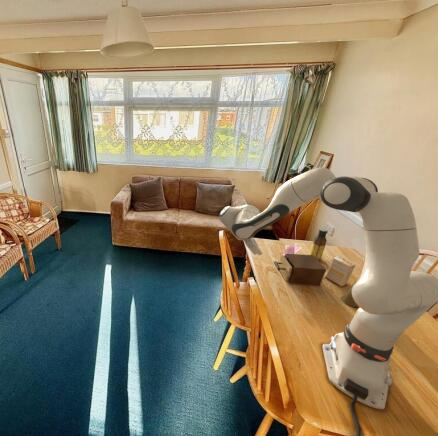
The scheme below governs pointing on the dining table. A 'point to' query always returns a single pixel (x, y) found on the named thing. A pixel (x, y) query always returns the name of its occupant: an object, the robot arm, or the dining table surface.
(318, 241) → the sauce bottle
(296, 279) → the cabinet
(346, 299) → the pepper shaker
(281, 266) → the drawer
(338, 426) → the dining table surface
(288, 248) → the lily
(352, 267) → the supplement box
